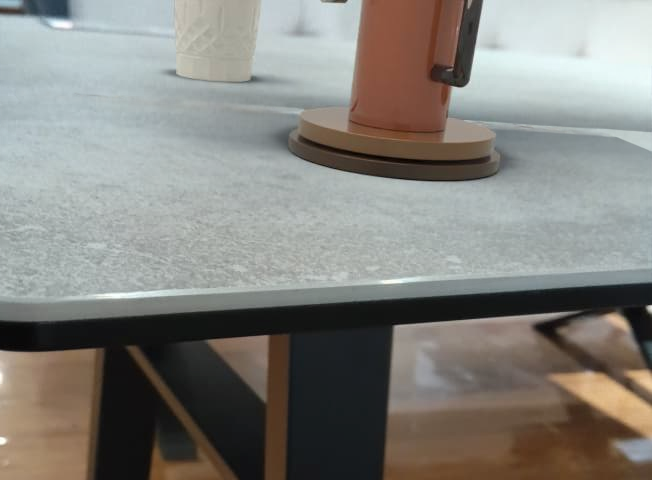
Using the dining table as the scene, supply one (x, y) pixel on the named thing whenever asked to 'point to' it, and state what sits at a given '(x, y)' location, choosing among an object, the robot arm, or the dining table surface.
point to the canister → (407, 84)
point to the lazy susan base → (392, 162)
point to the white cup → (216, 38)
